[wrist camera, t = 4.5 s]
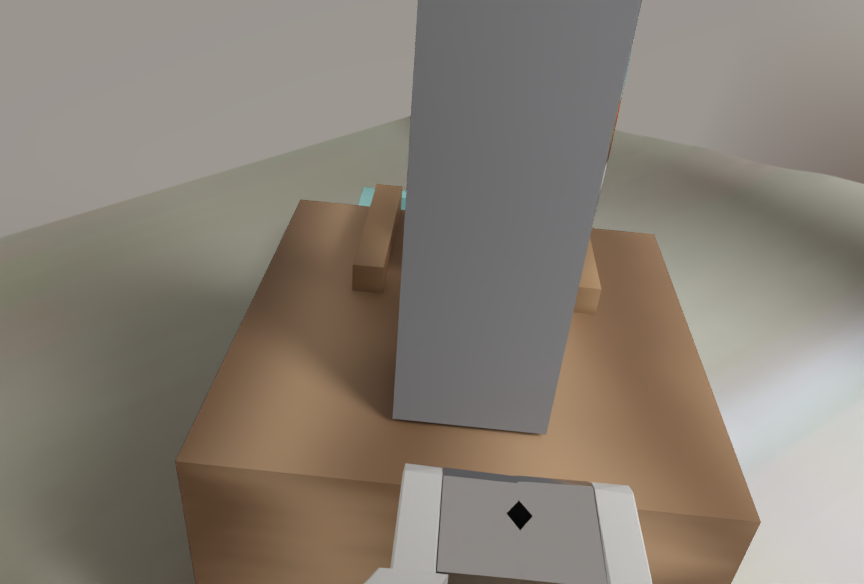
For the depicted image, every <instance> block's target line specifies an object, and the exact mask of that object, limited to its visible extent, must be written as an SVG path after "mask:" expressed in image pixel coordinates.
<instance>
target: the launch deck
mask: <svg viewBox="0 0 864 584" xmlns="http://www.w3.org/2000/svg"><path fill="white" fill-rule="evenodd" d="M401 202H402V186H391V185H381V184H377V185H376V188H375V192H374V195H373V198H372V202H371V205H370V206H360V205H350V204H340V203H329V202H319V201H309V200H300V202H299V204H298V206H297V208H296V210H295V212H294V215H293V217H292V219H291V221H290V223H289V225H288V227H287V229H286V231H285V233H284V235H283V237H282V240H281V242H280V244H279V246H278V248H277V250H276V252H275V254H274V256H273V258H272V260H271V263H270V265H269V267H268V269H267V271H266V273H265V275H264V277H263V279H262V281H261V283H260V285H259V288H258V290H257V292H256V294H255V296H254V298H253V300H252V302H251V304H250V306H249V308H248V311H247V313H246V315H245V317H244V319H243V321H242V323H241V325H240V327H239V329H238V331H237V333H236V336H235V338H234V340H233V342H232V344H231V346H230V348H229V350H228V352H227V354H226V356H225V359H224V361H223V363H222V365H221V367H220V369H219V371H218V373H217V375H216V377H215V379H214V381H213V384H212V386H211V388H210V390H209V392H208V394H207V396H206V398H205V400H204V402H203V404H202V407H201V409H200V411H199V413H198V415H197V417H196V419H195V421H194V423H193V425H192V427H191V429H190V432H189V434H188V436H187V438H186V440H185V442H184V444H183V446H182V448H181V450H180V452H179V455H178V457H177V459H176V461H175V463H176V469H177V475H178V481H179V487H180V493H181V499H182V505H183V511H184V517H185V523H186V529H187V535H188V541H189V547H190V553H191V559H192V565H193V571H194V577H195V583H196V584H364V583H365V582H366V581H367V580H368V579H369V578H370V577H371V575H372V574H373V573H374V572H375V571H376V570H377V569H378V568H390V566H391V559H392V551H393V543H394V536H395V528H396V521H397V513H398V505H399V498H400V490H401V482H402V475H403V470H404V467H405V464H406V463H408V464H416V465H424V466H432V467H441V468H442V474H443V468H444V467H446V468H454V469H462V470H470V471H478V472H486V473H494V474H502V475H510V476H516V475H518V476H530V477H542V478H553V479H565V480H576V481H588V482H589V483H591V482H595V483H606V484H617V485H628V486H629V487H630V488H631V490H632V491H633V494H634V498H635V503H636V508H637V513H638V517H639V522H640V527H641V532H642V536H643V541H644V546H645V551H646V555H647V560H648V565H649V570H650V574H651V579H652V584H731V582H732V580H733V578H734V576H735V574H736V572H737V570H738V568H739V566H740V564H741V562H742V560H743V558H744V556H745V553H746V551H747V549H748V547H749V545H750V543H751V541H752V539H753V537H754V535H755V533H756V531H757V529H758V527H759V525H760V523H761V522H760V519H759V516H758V513H757V511H756V508H755V505H754V503H753V500H752V497H751V495H750V492H749V489H748V487H747V484H746V481H745V478H744V476H743V473H742V470H741V468H740V465H739V462H738V460H737V457H736V454H735V451H734V449H733V446H732V443H731V441H730V438H729V435H728V433H727V430H726V427H725V424H724V422H723V419H722V416H721V414H720V411H719V408H718V406H717V403H716V400H715V397H714V395H713V392H712V389H711V387H710V384H709V381H708V379H707V376H706V373H705V371H704V368H703V365H702V362H701V360H700V357H699V354H698V352H697V349H696V346H695V344H694V341H693V338H692V335H691V333H690V330H689V327H688V325H687V322H686V319H685V317H684V314H683V311H682V308H681V306H680V303H679V300H678V298H677V295H676V292H675V290H674V287H673V284H672V281H671V279H670V276H669V273H668V271H667V268H666V265H665V263H664V260H663V257H662V255H661V252H660V249H659V246H658V244H657V241H656V238H655V236H654V234H645V233H635V232H625V231H615V230H604V229H594V228H592V230H591V234H590V239H589V243H588V248H587V252H586V257H585V261H584V266H583V270H582V275H581V279H580V284H579V288H578V293H577V297H576V302H575V307H574V311H573V316H572V320H571V325H570V329H569V334H568V338H567V343H566V347H565V352H564V356H563V361H562V365H561V370H560V375H559V379H558V384H557V388H556V393H555V397H554V402H553V406H552V411H551V415H550V420H549V424H548V429H547V433H546V434H537V433H527V432H518V431H508V430H498V429H488V428H479V427H469V426H459V425H449V424H440V423H430V422H420V421H410V420H401V419H392V418H393V402H394V386H395V369H396V353H397V336H398V320H399V304H400V287H401V271H402V255H403V238H404V222H405V210H401Z"/></svg>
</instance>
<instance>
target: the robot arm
mask: <svg viewBox="0 0 864 584" xmlns="http://www.w3.org/2000/svg"><path fill="white" fill-rule="evenodd" d="M364 584H652V579H651V574H650V570H649V565H648V560H647V555H646V551H645V546H644V541H643V536H642V532H641V527H640V522H639V517H638V513H637V508H636V503H635V498H634V494H633V491H632V490H631V488H630V487H629V486H628V485H617V484H606V483H595V482H591V483H589V482H588V481H576V480H565V479H553V478H542V477H530V476H518V475H516V476H510V475H502V474H494V473H486V472H478V471H470V470H462V469H454V468H446V467H444V468H443V474H442V468H441V467H432V466H424V465H416V464H408V463H406V464H405V467H404V470H403V475H402V482H401V490H400V498H399V505H398V513H397V521H396V528H395V536H394V543H393V551H392V559H391V566H390V568H378V569H377V570H376V571H375V572H374V573H373V574H372V575H371V577H370V578H369V579H368V580H367V581H366V582H365V583H364Z"/></svg>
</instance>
